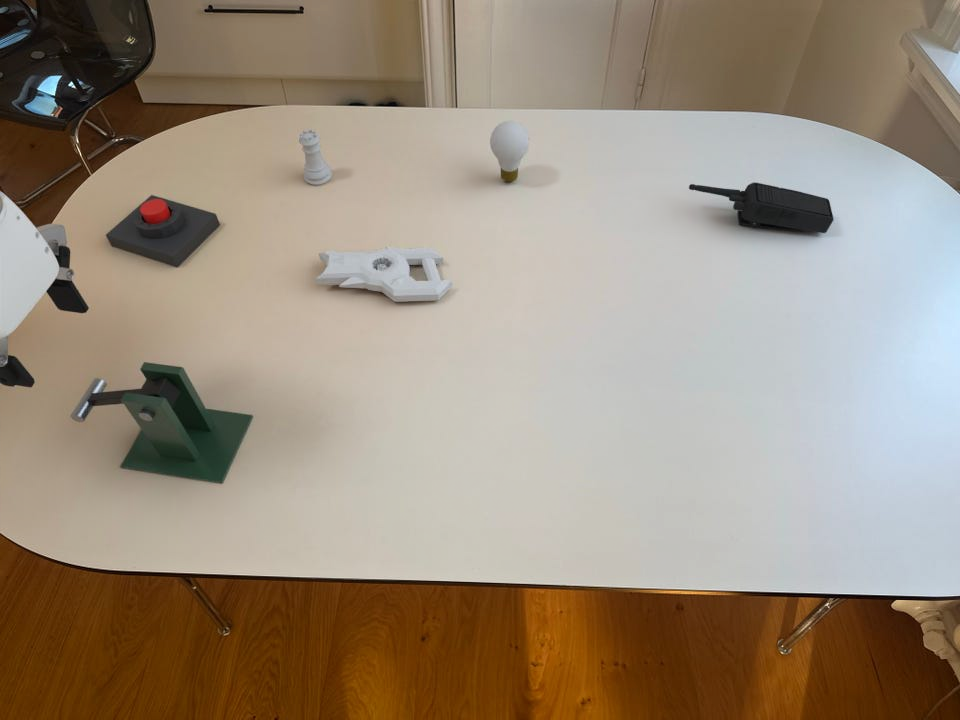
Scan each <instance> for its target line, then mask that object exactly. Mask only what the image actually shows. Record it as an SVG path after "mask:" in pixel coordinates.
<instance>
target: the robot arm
mask: <svg viewBox="0 0 960 720" xmlns="http://www.w3.org/2000/svg"><path fill="white" fill-rule="evenodd" d="M67 244H68V240H67V233H66V228H65V226H64V225H63V224H56V223H47V224H43V225H40V226H37V227H36V226H35V224H34V223H33V222H32V221H31V219H29V218H28V217H27V215H26V214H25V213H24V211H22V209H21V208H20V207H19V206H18V205H17V204H16V203H15V202H14V201H13V200H11V198H9V197H8V196H7V195H6V194H5V193H4V192H2V191H1V190H0V384H1V385H3V386H6V387H11V388H13V387H15V386H17V387H18V386H19V387H25V388H32V387H33V386H34V385H35V383H36V382H35V378H34V377H33V376H32V374H31V373H30V372H29V371H28V370H27V368H26V367H25V366H24V365H23V364H22V362H21V360H19V358H18V357H17V356H15V355H11V354H9V336H10V335H11V334H13V332H15V330H16V329H17V328H18V327H19V326H20V325H21V323H22V322H23V321H24V320H25V318H26V317H27V316H28V315H29V314H30V312H31V311H32V309H33V308H35V307H36V305H37V304H38V302H39V301H40V300H41V299H42V297H44V295H45V294H46V293H47V295H48V297H49V298H50V299H51V301H52V303H53V304H54V305H55V307H56V308H57V309H58V310H59V311H62V312H69V313H75V314H76V313H78V314H86V313H87V312H88V311H89V309H90V307H89V306H88V304H87V302H86V301H85V299H84V298H83V296H82V294H81V293H80V291H79V289H78V288H77V286H76V285H75V283H74V282H73V280H74V277H75V272H74V269H72V268H70V267H71V266H70V265H71V249H70V247H69V246H67Z"/></svg>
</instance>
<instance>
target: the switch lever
mask: <svg viewBox="0 0 960 720" xmlns="http://www.w3.org/2000/svg"><path fill="white" fill-rule="evenodd" d="M107 386H108V383H107V382H106V381H105V380H104V379H101V378H99V377H97V378H94V379H93V380H92V381H91V383H90V385H89V386H88V388H87V390H86V391H85V392H84V394H83V395H82V397H81V398H80V400H79V402H78V403H77V404H76V406H75V407H74V409H73V410H72V412H71V413H70V415H69V416H70V418H71V419H72V420H73V421H75V422H77V423H84V422H85V421H86V419H87V417H89V415H90V413H91V411H92V410H93V408H94V407H100V406H101V407H102V406H112V405H124V404H123V402H122V401H121V399H122V397H123V396H124V394H125V393H133V394H140V395H147V396H154V397H161V398H166V399H167V401H168V403H169V404H170V406H171V408H172V407H173V405H174V403H175V401H176V400H177V398H178V396H179V394H180V392H181V391H180V390H179V389H178V388H177V387H176V386H175V385H174V384H173V383H172V382H171V381H170V380H169V379H168V378H158V379H148V380H146V379H145V381H144V383H143V385H142V386H141V388H132V389H121V390H111V391H105V390H106V388H107Z"/></svg>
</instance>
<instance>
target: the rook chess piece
mask: <svg viewBox="0 0 960 720" xmlns="http://www.w3.org/2000/svg"><path fill="white" fill-rule="evenodd" d="M320 140H321V136H320V135H319V134H318V133H317V131H316V130H313V129H312V128H309V129H308V131H307V130H306V129H304V130H302V132H299V138H298V143H299V144H300V145H301V146H302V148H301V149H302V152H303V153H304V159H305V163H304V167H303V170H302V173H303V179H304V181H305V182H306V183H308V184H309V185H312V186H321V185H324V184H327V183H328V182H329V181H330V180H331V178H332V176H333V173H332V170H331V166H330V165H329V164H328V163H327V161H326V160H325V159H324V158H323V155H322V152H321V145H320V143H319V142H320Z"/></svg>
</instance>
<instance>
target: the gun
mask: <svg viewBox="0 0 960 720" xmlns="http://www.w3.org/2000/svg"><path fill="white" fill-rule="evenodd" d="M318 259H319V260H320V261H321V262H322V263H324V264H325V265H326V268H325V270H324V271H323V272H322V273H321V274H320V275H318V276H317V277H315V282H316V285H319V286H339V288H348V289H349V288H350V289H366V290H369V291H373V292H379V293H380V292H381V293H383V294H384V295H385V296H386V297H388V298H389V299H390V300H391V301H393V302H398V303H399V302H402V303H403V302H432V301H439V300H440V299H441V298H442V297H444V295H445V294H446V293H447V292H448V291H449V290H451V288H453V280H449V279H448V280H447V279H441V276H440V273H439V270H438V267H437V265H443V264H444V258H443V256H442V255H440V254H439V252H438V251H437V250H435V248H433V247H418V248H417V247H416V248H398V247H392V246H385V248H382V249H381V248H380V249H377V250H372V251H371V250H370V251H336V250H326V251H325V252H318ZM421 265H422V269H423V272H424V274H425V277H426V280H416V279H415V278H414V277H412V276H411V275H410V272H411V271H410V268H411V267H410V266H421Z"/></svg>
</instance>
